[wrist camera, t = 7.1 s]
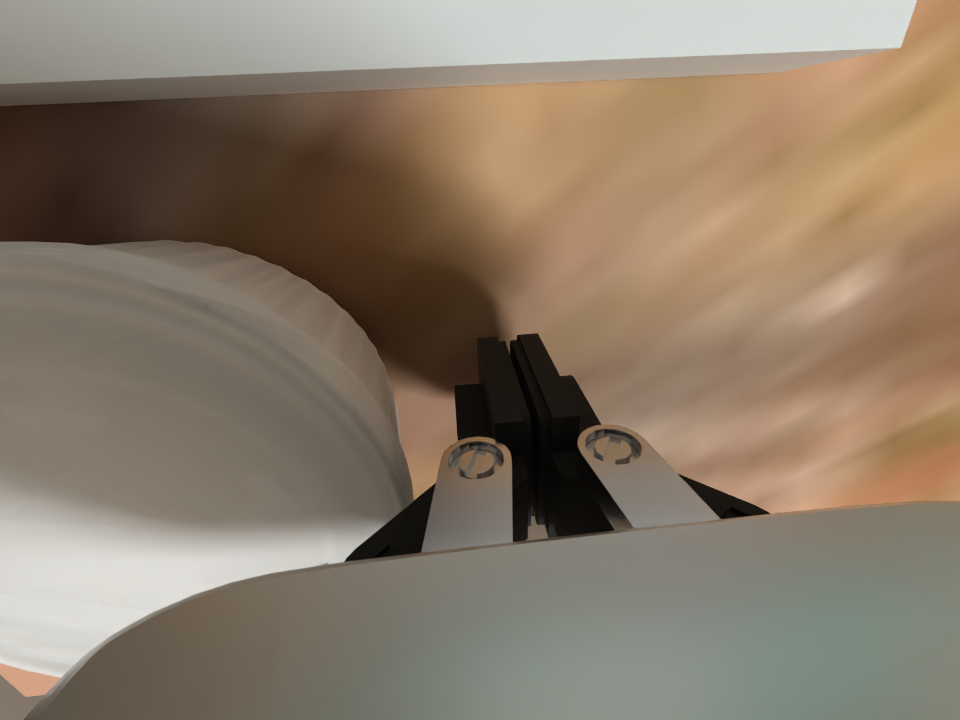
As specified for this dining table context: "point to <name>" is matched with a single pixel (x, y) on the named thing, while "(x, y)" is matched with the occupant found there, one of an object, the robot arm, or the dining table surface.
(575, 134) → the dining table surface
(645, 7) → the bay
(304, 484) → the ramekin
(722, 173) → the dining table surface
